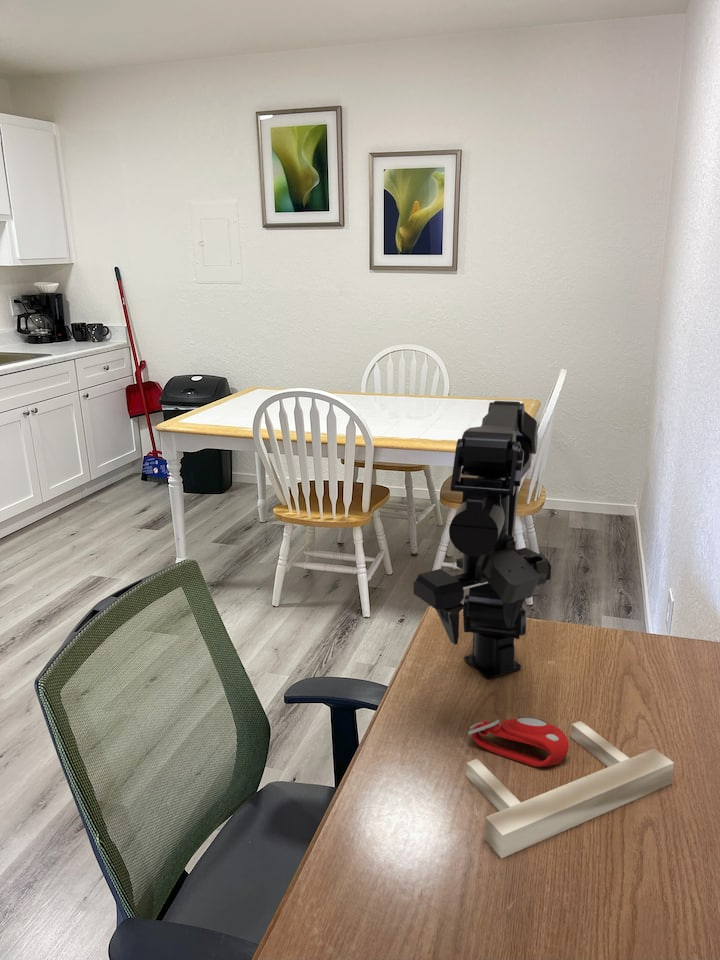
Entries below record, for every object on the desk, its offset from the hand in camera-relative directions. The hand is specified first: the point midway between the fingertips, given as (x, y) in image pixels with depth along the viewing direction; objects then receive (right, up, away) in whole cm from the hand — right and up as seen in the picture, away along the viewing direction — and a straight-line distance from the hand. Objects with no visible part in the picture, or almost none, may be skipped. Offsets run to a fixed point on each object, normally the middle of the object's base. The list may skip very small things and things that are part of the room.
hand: (482, 634), depth 100 cm
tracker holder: (+4, -14, -3) cm, 15 cm away
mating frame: (+7, -16, -11) cm, 20 cm away
